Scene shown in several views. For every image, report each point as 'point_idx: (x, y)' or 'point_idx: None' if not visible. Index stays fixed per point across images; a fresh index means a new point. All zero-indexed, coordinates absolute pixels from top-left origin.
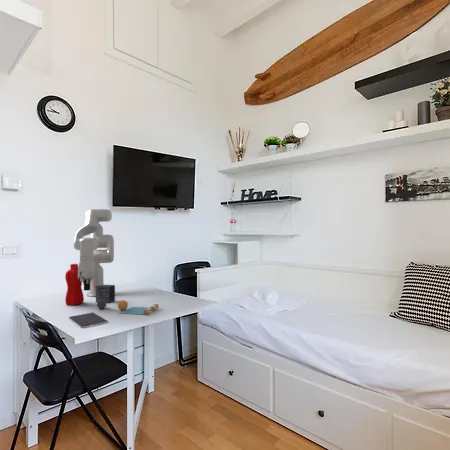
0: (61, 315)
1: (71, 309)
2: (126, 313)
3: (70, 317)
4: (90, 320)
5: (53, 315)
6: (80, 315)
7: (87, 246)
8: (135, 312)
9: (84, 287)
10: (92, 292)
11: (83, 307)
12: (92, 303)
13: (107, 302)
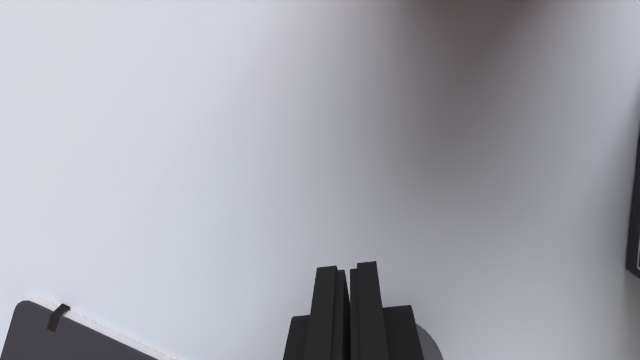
0: (47, 152)
1: (243, 58)
2: None
3: (17, 323)
4: None
5: (2, 72)
6: (96, 356)
7: None
8: None
9: (288, 340)
10: None
11: (364, 124)
12: (567, 80)
13: (630, 246)
